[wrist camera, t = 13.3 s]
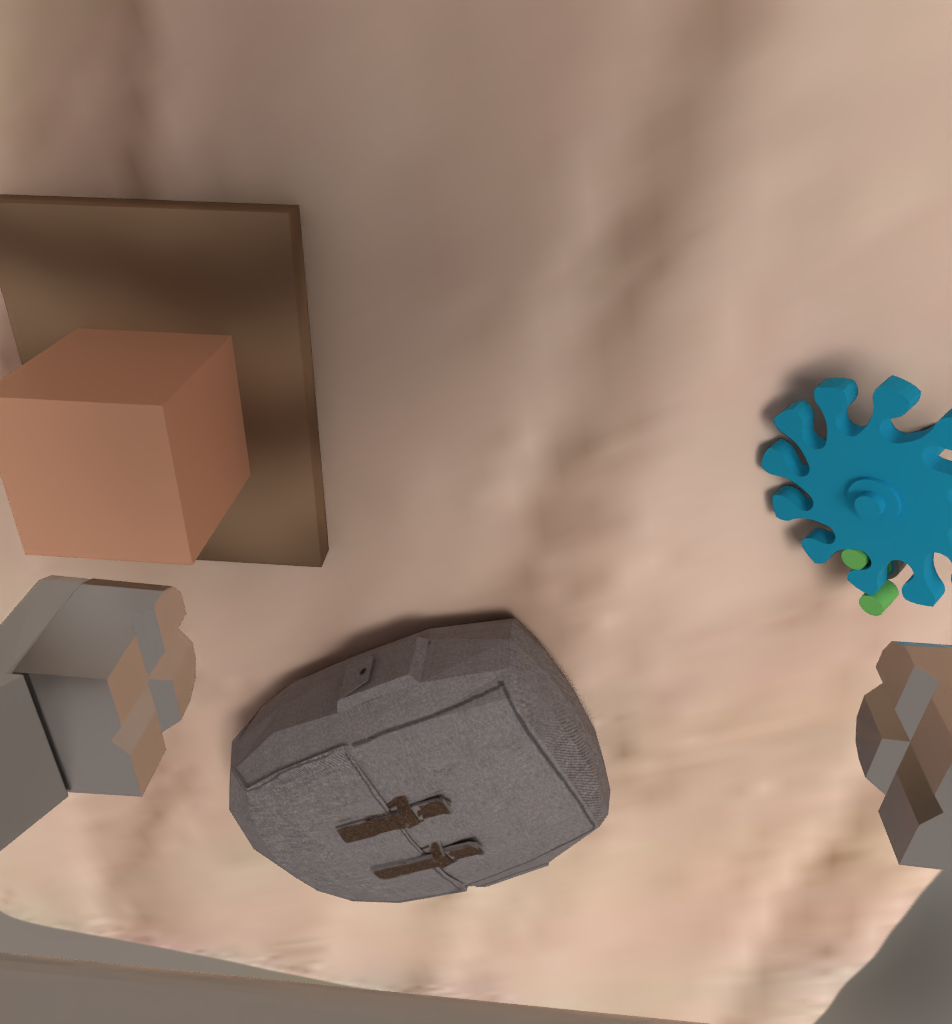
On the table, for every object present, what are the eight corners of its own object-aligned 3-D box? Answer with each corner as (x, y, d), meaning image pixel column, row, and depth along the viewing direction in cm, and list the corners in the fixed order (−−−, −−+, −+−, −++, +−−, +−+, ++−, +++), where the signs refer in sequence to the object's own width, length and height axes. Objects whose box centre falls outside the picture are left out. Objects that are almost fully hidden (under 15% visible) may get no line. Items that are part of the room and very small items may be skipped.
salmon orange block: (77, 328, 34) (-25, 396, 28) (231, 335, 33) (162, 405, 27) (110, 467, 37) (25, 554, 31) (250, 474, 37) (192, 564, 31)
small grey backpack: (509, 561, 40) (192, 691, 46) (501, 680, 33) (127, 814, 39) (634, 761, 46) (341, 851, 53) (650, 896, 39) (308, 983, 45)
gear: (757, 360, 32) (1042, 441, 26) (839, 299, 35) (1116, 359, 28) (748, 568, 39) (972, 675, 32) (817, 504, 42) (1037, 590, 35)
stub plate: (-1, 194, 33) (-114, 231, 27) (298, 205, 32) (246, 245, 26) (89, 535, 41) (17, 617, 35) (328, 549, 40) (293, 635, 35)
